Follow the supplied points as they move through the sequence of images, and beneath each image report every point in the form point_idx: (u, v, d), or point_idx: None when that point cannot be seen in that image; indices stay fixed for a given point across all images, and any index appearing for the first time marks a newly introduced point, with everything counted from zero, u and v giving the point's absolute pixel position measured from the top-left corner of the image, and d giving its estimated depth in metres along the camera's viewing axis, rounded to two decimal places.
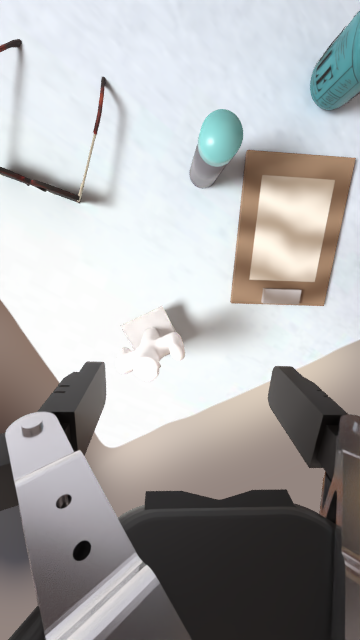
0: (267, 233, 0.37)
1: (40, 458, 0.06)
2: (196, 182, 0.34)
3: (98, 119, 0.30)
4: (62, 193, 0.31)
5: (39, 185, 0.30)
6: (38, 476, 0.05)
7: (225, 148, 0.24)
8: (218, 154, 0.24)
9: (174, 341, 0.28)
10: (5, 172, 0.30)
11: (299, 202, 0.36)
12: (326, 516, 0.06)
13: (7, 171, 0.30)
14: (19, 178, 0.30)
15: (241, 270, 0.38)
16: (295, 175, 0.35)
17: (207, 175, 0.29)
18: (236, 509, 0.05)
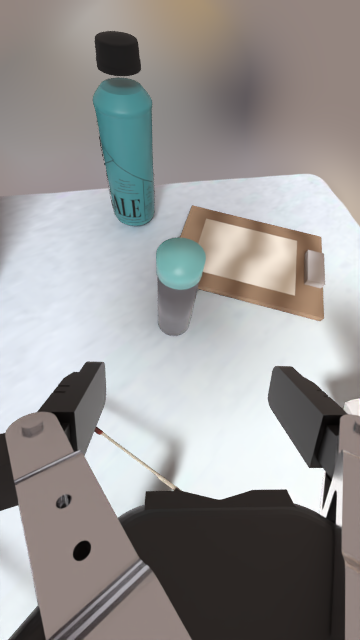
0: (245, 271, 0.35)
1: (41, 458, 0.06)
2: (185, 326, 0.29)
3: None
4: None
5: None
6: (38, 476, 0.05)
7: (194, 254, 0.20)
8: (199, 261, 0.20)
9: None
10: None
11: (220, 243, 0.37)
12: (326, 516, 0.06)
13: None
14: None
15: (284, 301, 0.33)
16: None
17: (194, 301, 0.25)
18: (236, 509, 0.05)
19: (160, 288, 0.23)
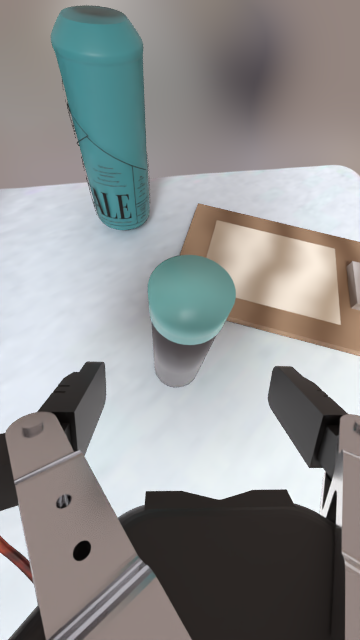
0: (272, 291, 0.26)
1: (41, 458, 0.06)
2: (193, 376, 0.20)
3: (29, 569, 0.13)
4: None
5: None
6: (38, 476, 0.05)
7: (216, 286, 0.12)
8: (225, 299, 0.11)
9: None
10: None
11: (236, 253, 0.28)
12: (326, 516, 0.06)
13: None
14: None
15: (327, 333, 0.24)
16: (204, 253, 0.28)
17: None
18: (236, 509, 0.05)
19: (156, 336, 0.14)
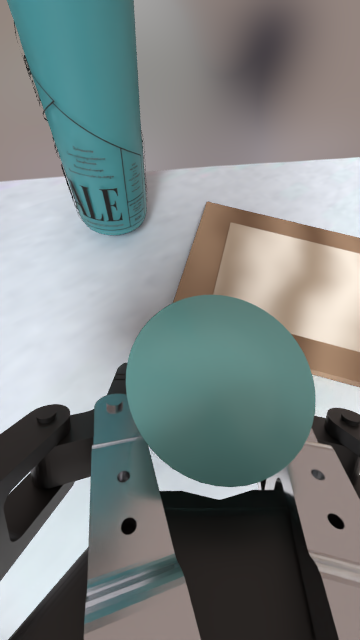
0: (305, 316, 0.20)
1: (115, 433, 0.06)
2: None
3: None
4: None
5: None
6: (109, 448, 0.05)
7: (270, 366, 0.05)
8: (294, 401, 0.05)
9: None
10: None
11: (257, 264, 0.22)
12: None
13: None
14: None
15: None
16: (216, 265, 0.22)
17: None
18: (236, 509, 0.05)
19: None
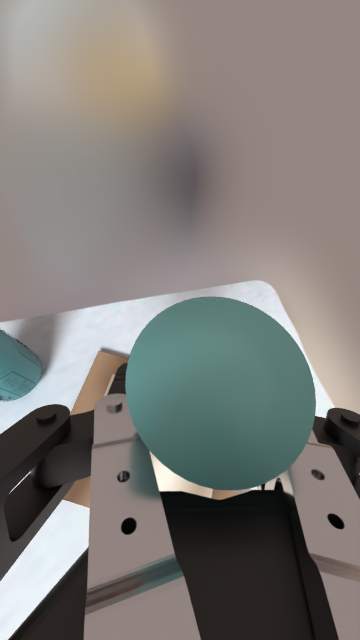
0: None
1: (115, 433, 0.06)
2: None
3: None
4: None
5: None
6: (109, 448, 0.05)
7: (270, 368, 0.05)
8: (294, 404, 0.05)
9: None
10: None
11: None
12: None
13: None
14: None
15: None
16: None
17: None
18: (236, 509, 0.05)
19: None
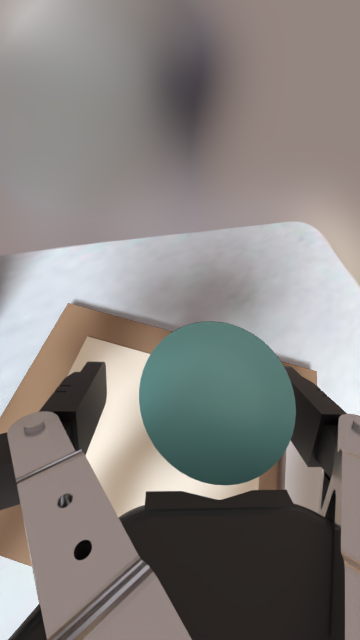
0: (141, 495, 0.15)
1: (42, 457, 0.06)
2: None
3: None
4: None
5: None
6: (40, 475, 0.05)
7: (259, 384, 0.07)
8: (278, 414, 0.06)
9: None
10: None
11: None
12: (326, 516, 0.06)
13: None
14: None
15: None
16: None
17: None
18: (236, 509, 0.05)
19: None
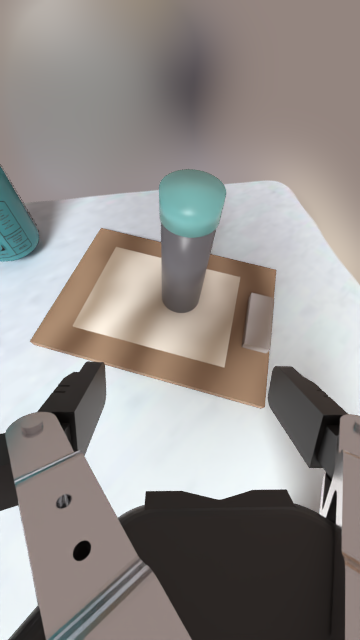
0: (156, 329, 0.24)
1: (41, 458, 0.06)
2: (195, 300, 0.23)
3: None
4: None
5: None
6: (38, 476, 0.05)
7: (210, 188, 0.15)
8: (217, 195, 0.15)
9: None
10: None
11: (127, 285, 0.26)
12: (326, 516, 0.06)
13: None
14: None
15: (206, 378, 0.21)
16: (91, 286, 0.26)
17: (207, 263, 0.20)
18: (236, 509, 0.05)
19: (165, 241, 0.17)
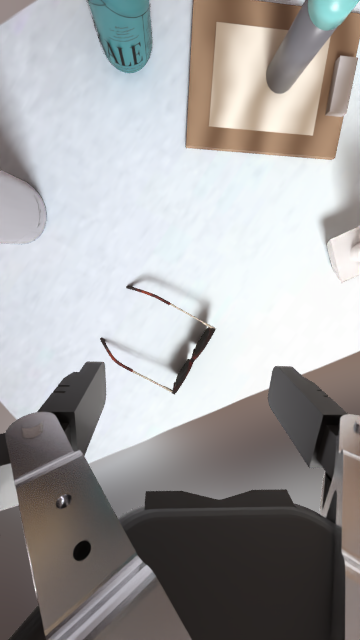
0: (265, 114, 0.33)
1: (41, 458, 0.06)
2: (297, 78, 0.31)
3: (160, 298, 0.38)
4: (208, 339, 0.38)
5: (199, 353, 0.39)
6: (38, 476, 0.05)
7: None
8: None
9: None
10: (186, 373, 0.40)
11: (237, 72, 0.32)
12: (326, 516, 0.06)
13: (186, 372, 0.40)
14: (191, 365, 0.40)
15: (301, 146, 0.35)
16: (209, 81, 0.32)
17: None
18: (236, 509, 0.05)
19: (304, 33, 0.24)
